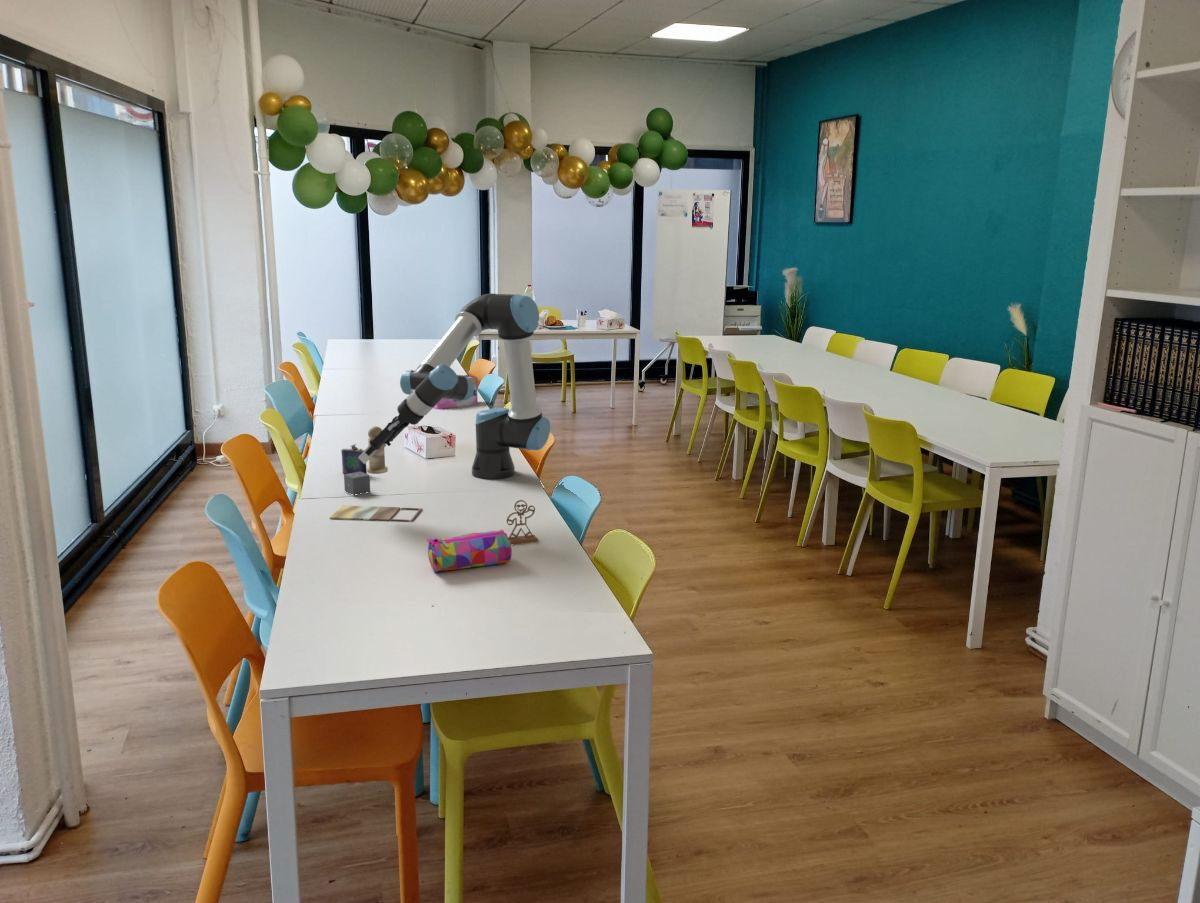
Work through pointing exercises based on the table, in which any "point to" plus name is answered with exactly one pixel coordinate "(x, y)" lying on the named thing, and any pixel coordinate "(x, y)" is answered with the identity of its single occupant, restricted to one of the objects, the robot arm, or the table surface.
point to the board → (369, 513)
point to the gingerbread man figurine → (527, 537)
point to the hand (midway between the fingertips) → (365, 458)
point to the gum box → (454, 403)
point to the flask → (352, 460)
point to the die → (357, 483)
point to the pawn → (376, 454)
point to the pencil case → (469, 550)
